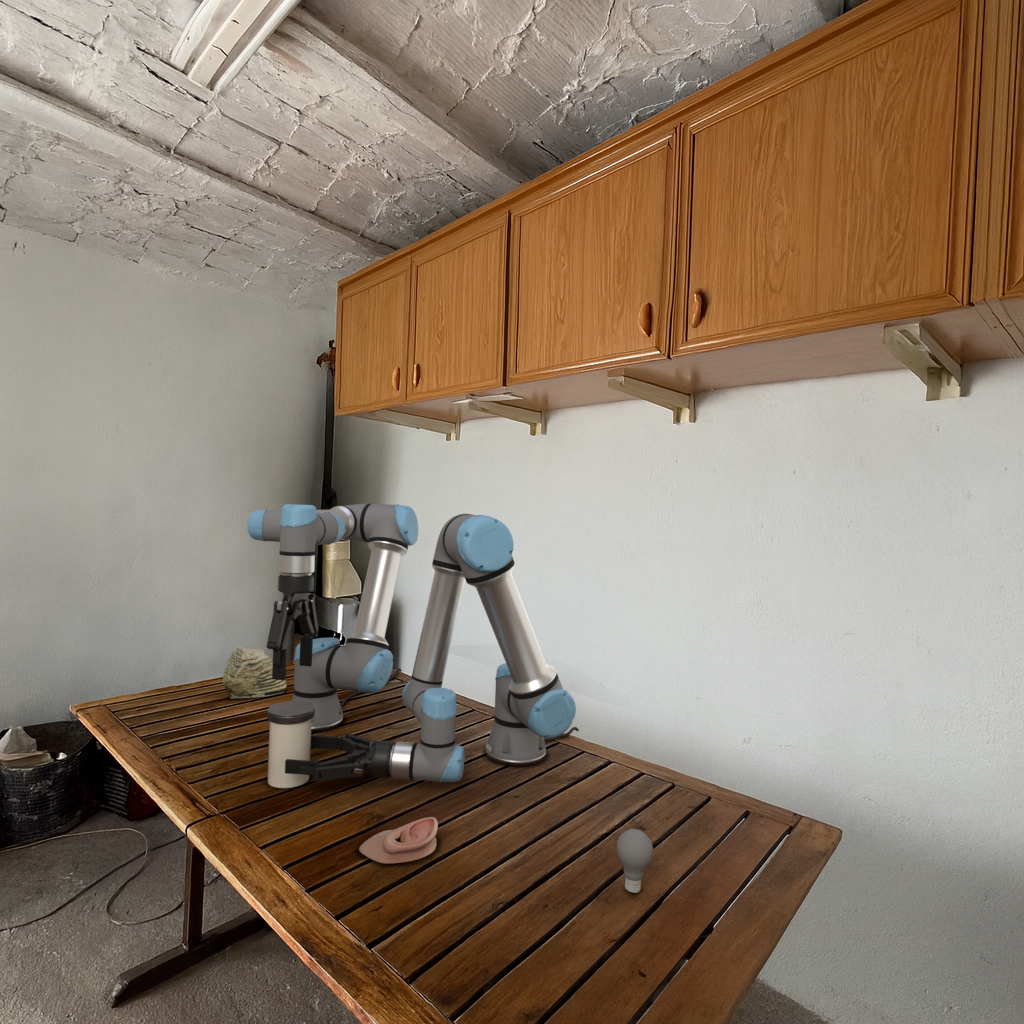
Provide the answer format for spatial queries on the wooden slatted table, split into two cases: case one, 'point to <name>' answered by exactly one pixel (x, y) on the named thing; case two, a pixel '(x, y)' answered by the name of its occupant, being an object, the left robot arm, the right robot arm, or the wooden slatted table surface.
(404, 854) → the anatomical model
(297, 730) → the jar
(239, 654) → the fossil
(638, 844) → the light bulb
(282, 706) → the lid
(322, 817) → the wooden slatted table surface
